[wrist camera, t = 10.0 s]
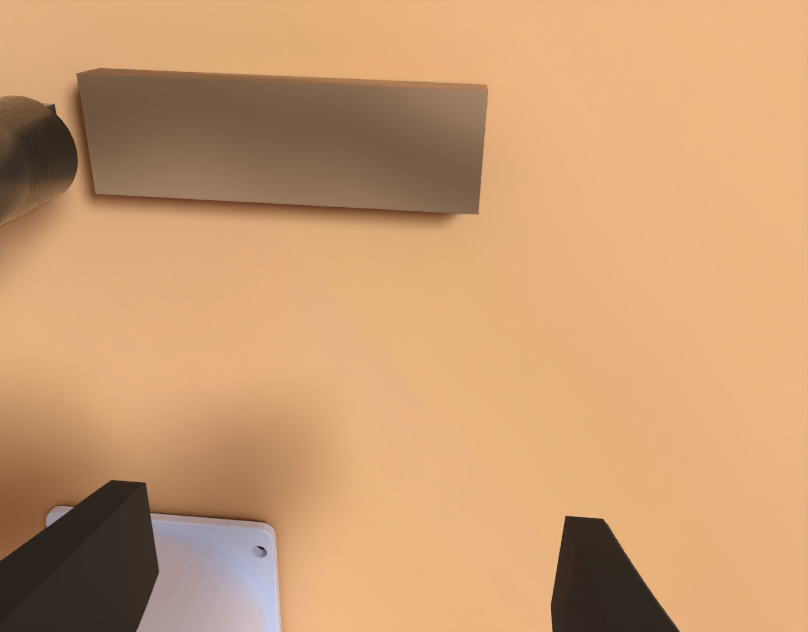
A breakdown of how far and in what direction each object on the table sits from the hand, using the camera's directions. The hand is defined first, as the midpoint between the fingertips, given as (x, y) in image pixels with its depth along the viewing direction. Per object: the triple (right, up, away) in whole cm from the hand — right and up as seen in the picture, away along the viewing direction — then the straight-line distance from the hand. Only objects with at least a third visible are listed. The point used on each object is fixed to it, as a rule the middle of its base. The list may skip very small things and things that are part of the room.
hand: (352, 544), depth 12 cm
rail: (-2, +9, +7) cm, 11 cm away
